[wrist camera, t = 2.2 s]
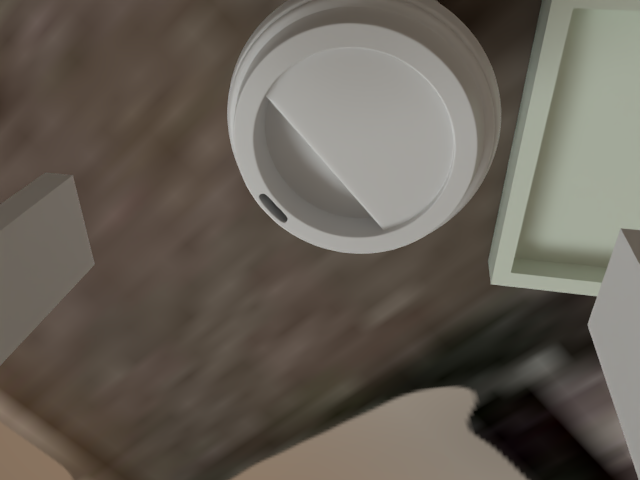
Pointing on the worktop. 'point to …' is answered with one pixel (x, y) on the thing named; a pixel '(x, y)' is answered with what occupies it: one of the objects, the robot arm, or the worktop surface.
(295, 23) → the coffee cup
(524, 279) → the tray
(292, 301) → the worktop surface
